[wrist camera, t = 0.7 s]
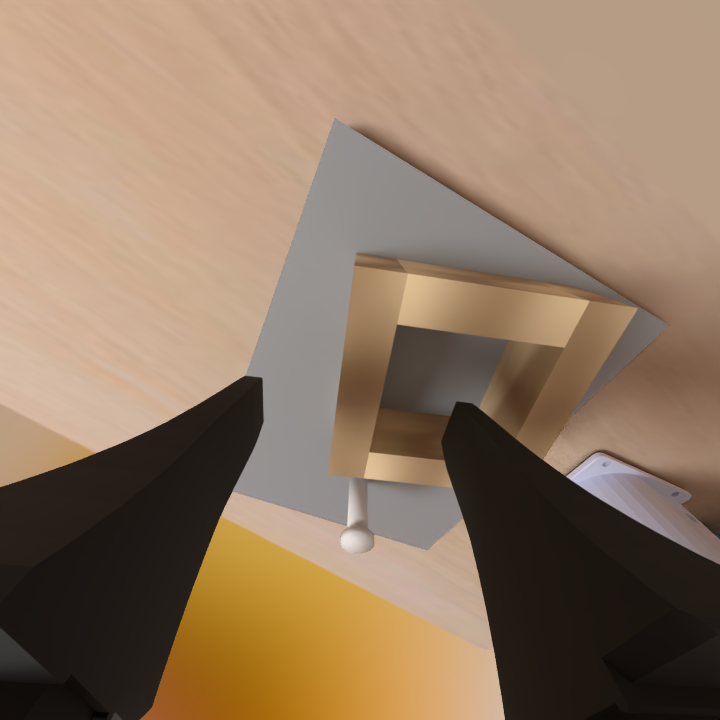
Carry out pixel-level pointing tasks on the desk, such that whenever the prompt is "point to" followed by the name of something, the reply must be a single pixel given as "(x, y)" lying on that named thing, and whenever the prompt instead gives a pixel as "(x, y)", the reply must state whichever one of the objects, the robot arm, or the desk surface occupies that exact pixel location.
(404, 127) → the desk surface
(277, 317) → the slate board
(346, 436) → the oak frame
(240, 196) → the desk surface
